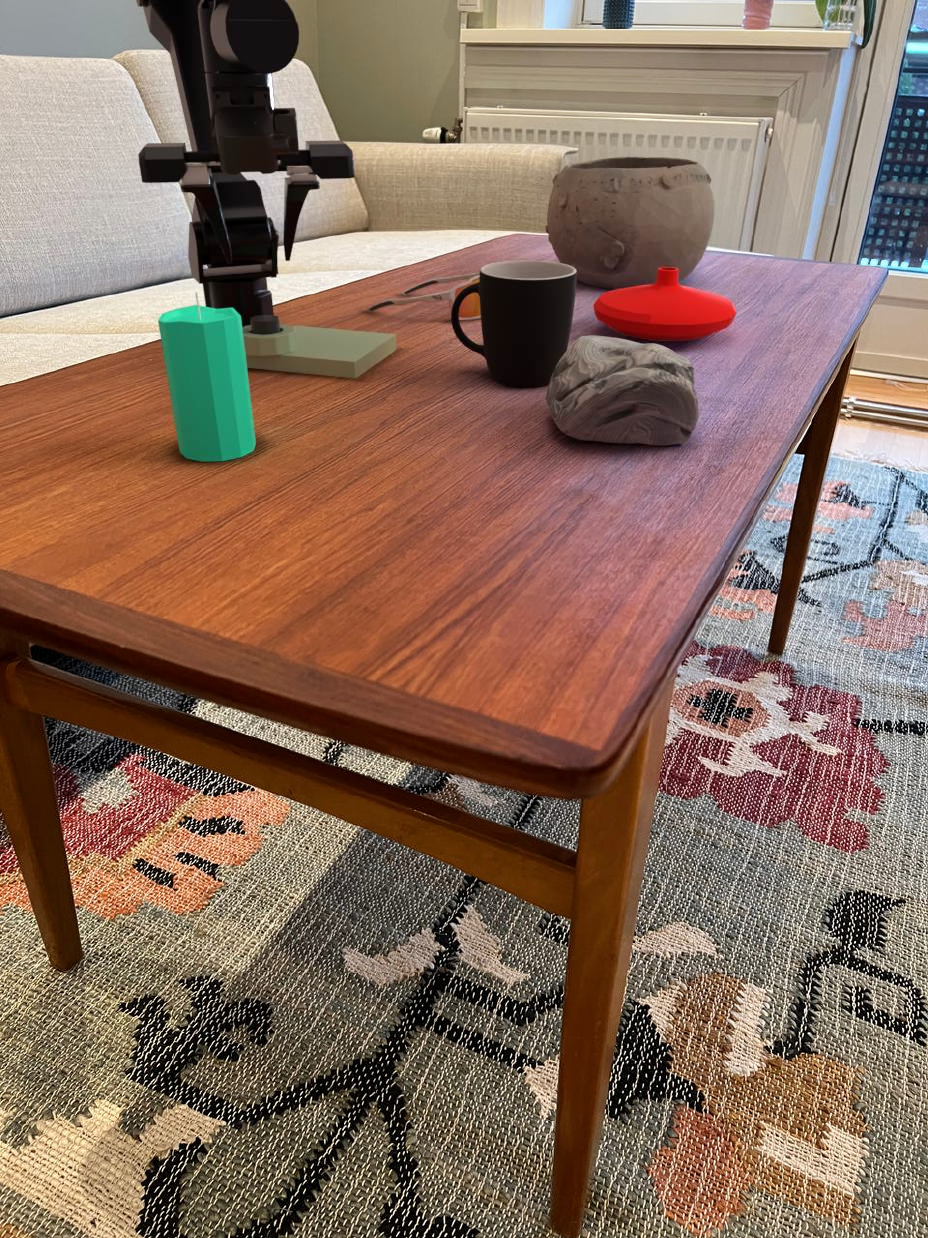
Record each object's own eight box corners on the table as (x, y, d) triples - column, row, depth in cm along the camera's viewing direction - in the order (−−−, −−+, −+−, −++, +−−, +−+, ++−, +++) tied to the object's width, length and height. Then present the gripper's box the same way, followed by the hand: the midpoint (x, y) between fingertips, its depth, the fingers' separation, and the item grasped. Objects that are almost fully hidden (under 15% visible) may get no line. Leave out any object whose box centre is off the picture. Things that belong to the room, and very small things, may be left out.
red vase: (640, 359, 96) (647, 288, 92) (566, 325, 108) (569, 261, 105) (762, 344, 102) (774, 276, 98) (679, 312, 114) (686, 251, 110)
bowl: (594, 256, 146) (601, 149, 138) (733, 274, 134) (750, 158, 126) (513, 281, 130) (516, 162, 122) (663, 303, 118) (678, 173, 110)
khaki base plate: (230, 370, 93) (226, 334, 91) (286, 340, 103) (283, 307, 101) (350, 382, 89) (348, 345, 87) (396, 350, 99) (395, 316, 97)
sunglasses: (476, 325, 107) (471, 280, 105) (362, 332, 113) (355, 289, 111) (516, 300, 119) (512, 259, 116) (411, 307, 124) (405, 268, 122)
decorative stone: (593, 353, 86) (628, 255, 78) (716, 432, 82) (766, 338, 75) (499, 420, 78) (527, 318, 70) (631, 511, 74) (677, 415, 66)
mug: (579, 369, 93) (586, 263, 88) (557, 396, 86) (564, 281, 80) (466, 358, 96) (466, 255, 91) (436, 383, 89) (434, 272, 84)
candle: (238, 464, 71) (217, 303, 65) (166, 458, 72) (138, 299, 66) (267, 437, 76) (250, 285, 70) (199, 432, 77) (177, 282, 71)
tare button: (246, 336, 92) (245, 320, 91) (260, 329, 94) (258, 313, 93) (272, 338, 91) (270, 322, 90) (285, 331, 93) (284, 315, 93)
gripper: (117, 74, 73) (152, 282, 81) (356, 73, 76) (366, 273, 84) (130, 72, 82) (160, 259, 90) (342, 71, 85) (352, 252, 93)
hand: (259, 261), depth 89 cm, fingers open, 5 cm apart
